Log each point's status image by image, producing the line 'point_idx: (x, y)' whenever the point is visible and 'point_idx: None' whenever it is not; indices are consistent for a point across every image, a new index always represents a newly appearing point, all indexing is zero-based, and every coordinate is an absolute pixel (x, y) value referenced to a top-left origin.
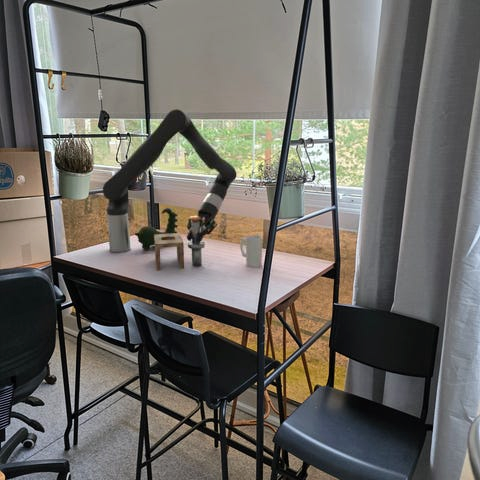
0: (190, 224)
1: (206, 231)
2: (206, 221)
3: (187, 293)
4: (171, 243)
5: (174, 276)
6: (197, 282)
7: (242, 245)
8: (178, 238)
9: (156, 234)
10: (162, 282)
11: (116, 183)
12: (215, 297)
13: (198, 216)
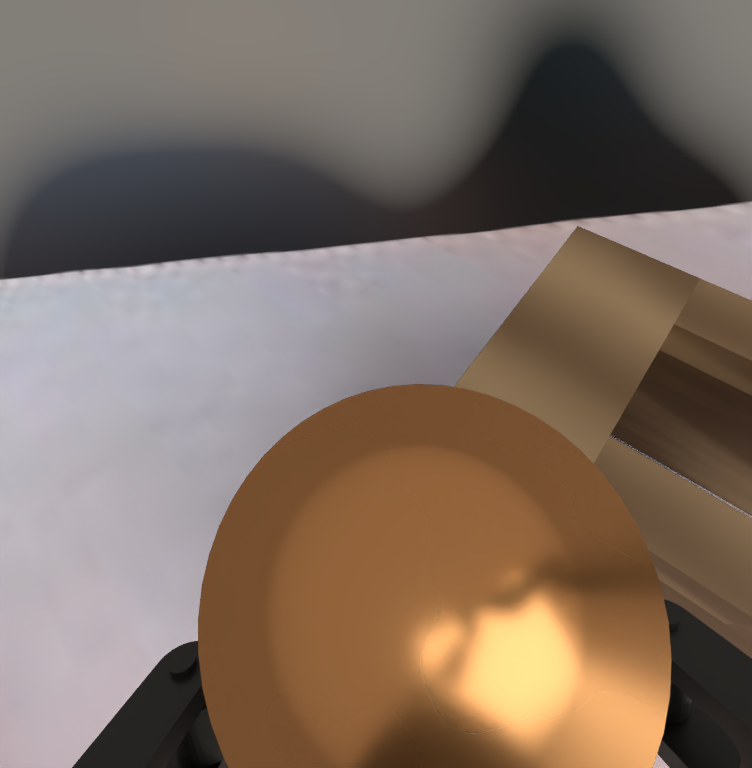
0: (721, 716)
1: (173, 658)
2: None
3: (151, 266)
4: (503, 325)
5: (358, 358)
6: (187, 374)
7: None
8: (635, 493)
9: None
10: (340, 276)
11: None
12: (14, 306)
13: (390, 758)
